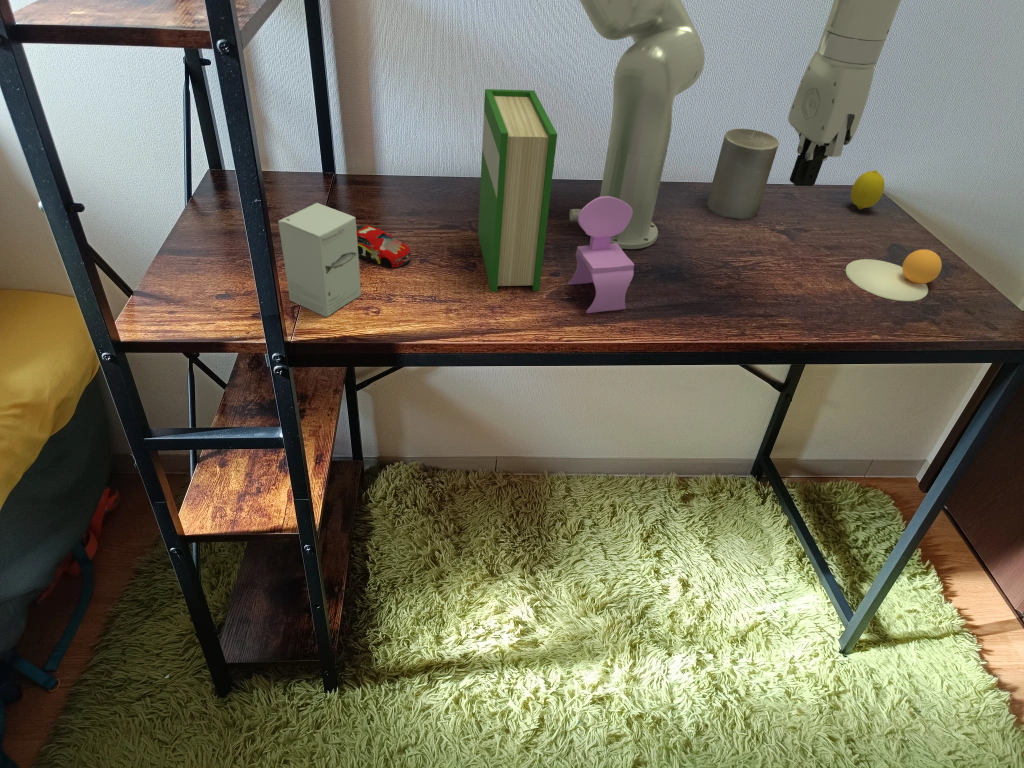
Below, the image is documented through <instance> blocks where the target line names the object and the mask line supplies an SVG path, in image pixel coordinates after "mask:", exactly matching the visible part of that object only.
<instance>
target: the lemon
mask: <svg viewBox="0 0 1024 768" xmlns="http://www.w3.org/2000/svg"><path fill="white" fill-rule="evenodd" d="M885 184H886V183H885V179H884V177H883V176H882V174H881V173H880V172H879V171H878V170H876V169H874V170H871V171H866V172H863V173H862V174H861V175H859V177H857V179H855V182H854V183H853V185H852V188H851V192H850V199H851V201H852V203H853V205H855V206H856V208H857V210H861V211H862V210H863V209H865V208H866V209H867V208H870V207H873V206H875V205H876V204H878V202H879V200H880V199H881V198H882V196H883V193H884V191H885Z"/></svg>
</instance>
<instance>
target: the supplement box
mask: <svg viewBox="0 0 1024 768" xmlns="http://www.w3.org/2000/svg"><path fill="white" fill-rule="evenodd" d="M356 221H357V219H356V217H355V216H353V215H351V214H348V213H345V212H343V211H341V210H340V211H339V210H337V209H335V208H331V207H329V206H327V205H324V204H321V203H319V202H315V203H313V204H311V205H309V206H307V207H305V208H303V209H301V210H299V211H296V212H295V213H292V214H290V215H288V216H286V217H283V218H282V219H279V220H278V221H277V222H278V229H279V235H280V236H279V237H280V241H281V249H282V257H283V262H284V269H285V270H284V271H285V275H286V276H285V277H286V282H287V290H288V296H289V297H288V298H289V300H290V302H293V303H294V304H298V305H299V306H301V307H303V308H306V309H308V310H310V311H311V312H314V313H316V314H318V315H320V316H323V317H325V318H328V317H330V316H331V315H332V314H333V313H335V312H336V311H338V310H340V309H341V308H343V307H345V306H346V305H347V304H349V303H350V302H352V301H353V300H354V301H355V300H356V299H357V298H359V297H362V289H361V287H362V286H361V276H360V275H361V274H360V262H359V261H360V259H359V258H360V257H358V244H357V230H356V224H357V222H356Z"/></svg>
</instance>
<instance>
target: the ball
mask: <svg viewBox="0 0 1024 768" xmlns="http://www.w3.org/2000/svg"><path fill="white" fill-rule="evenodd" d="M942 263H943V262H942V259H941V256H939V255H938V254H937V253H936V252H934V251H933V250H930V249H917V250H914V251H912V252H911V253H909V254H908V255H907V256H906V257H905V259H904V261H903V263H902V266H901V267H902V269H903V273H904V275H905V277H906V278H907V279H908V280H909V281H911V282H913V283H917V284H924V283H926V284H928V283H930V282H932V281H933V280H935V279H936V278H937V277H938V276H940V273H941V271H942Z"/></svg>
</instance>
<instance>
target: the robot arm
mask: <svg viewBox="0 0 1024 768" xmlns="http://www.w3.org/2000/svg"><path fill="white" fill-rule="evenodd" d="M901 1H902V0H833V2H832V4H831V5H832V6H831V9H830V11H829V15H828V17H827V21H826V24H825V27H824V30H823V33H822V36H821V40H820V42H819V44H818V47H817V50H816V51H815V52H814V54H813V55H812V57H811V59H810V60H809V62H808V65H807V66H806V69H805V72H804V73H803V75H802V78H801V80H800V83H799V85H798V87H797V90H796V93H795V95H794V99H793V101H792V104H791V108H790V109H789V113H788V115H787V116H788V117H787V120H788V123H789V124H790V125H791V127H792V128H793V129H794V130H795V132H796V133H797V135H798V137H799V139H798V140H799V142H798V146H797V149H796V152H797V158H796V160H795V162H794V166H793V167H792V171H791V174H790V176H789V182H790V183H792V184H793V185H794V186H795V187H813V186H814V185H815V184H816V181H817V179H818V176H819V174H820V171H821V169H822V166H823V162H824V161H826V160H828V157H830V158H837V157H838V158H839V157H841V156H842V154H843V153H842V151H843V149H844V148H843V147H844V146H846V145H849V144H850V143H851V142H852V140H853V139H854V136H855V134H856V133H857V130H858V128H859V125H860V122H861V119H862V116H863V113H864V111H865V108H866V104H867V101H868V99H869V93H870V90H871V87H872V82H873V79H874V75H875V70H876V69H875V67H876V66H877V64H878V61H879V59H880V57H881V56H880V55H881V53H882V51H883V48H884V45H885V43H886V41H887V38H888V35H889V32H890V29H891V27H892V25H893V21H894V19H895V16H896V14H897V12H898V9H899V6H900V3H901ZM579 2H580V3H581V5H582V7H583V10H584V11H585V13H586V15H587V17H588V19H589V20H590V22H591V25H592V26H593V28H594V30H595V31H596V32H597V34H599V35H600V36H601V37H602V38H603V39H606V40H610V41H618V40H622V39H623V40H624V39H626V38H630V37H631V39H632V40H633V44H632V45H631V46H629V47H628V48H627V49H626V50H625V51H624V53H622V55H621V57H620V58H619V60H618V62H617V65H616V68H615V71H614V75H613V76H614V77H613V87H612V88H613V89H612V90H613V92H612V93H613V98H612V99H613V101H612V103H613V105H612V117H611V124H610V130H609V137H608V145H607V149H606V151H607V152H606V158H605V162H604V169H603V176H602V181H601V182H602V183H601V187H600V194H599V197H602V196H610V197H614V198H617V199H620V200H622V201H624V202H625V203H627V204H628V205H629V206H630V207H631V209H632V217H631V220H630V222H629V223H628V225H627V226H626V228H625V229H624V231H623V232H621V233H619V234H617V235H614V236H612V238H611V242H610V244H614V243H617V244H618V245H619V246H620V247H621V249H622V250H639V249H645V248H647V247H649V246H652V245H653V244H654V243H656V241H657V238H658V235H659V229H658V227H657V226H656V224H655V223H654V222H653V217H654V211H655V208H656V202H657V199H658V194H659V190H660V185H661V179H662V175H663V172H664V167H665V162H666V158H667V153H668V148H669V147H668V146H669V143H670V139H671V132H672V125H673V123H672V122H673V121H672V120H673V105H674V99H675V97H677V96H678V95H679V94H681V93H683V92H685V91H686V90H687V89H689V88H691V87H692V86H693V85H695V83H696V82H697V81H698V79H700V76H701V75H702V73H703V70H704V66H705V49H704V46H703V42H702V40H701V37H700V36H699V34H698V31H697V29H696V27H695V25H694V23H693V21H692V19H691V17H690V16H689V14H688V11H687V9H686V8H685V5H684V3H683V2H682V0H579ZM581 210H582V209H581V208H573V209H571V208H570V210H569V220H570V221H572V222H573V221H577V222H578V215H579V213H580V211H581Z"/></svg>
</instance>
